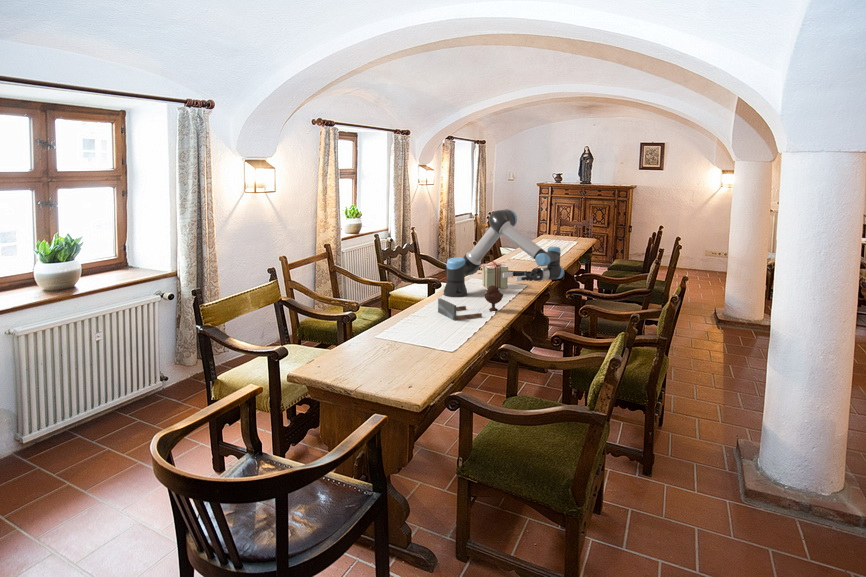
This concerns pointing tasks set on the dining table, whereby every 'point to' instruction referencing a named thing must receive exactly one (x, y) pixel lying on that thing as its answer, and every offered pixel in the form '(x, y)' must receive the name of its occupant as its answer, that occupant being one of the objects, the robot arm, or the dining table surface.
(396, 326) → the dining table surface
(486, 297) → the ice cream bowl
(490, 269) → the gift box
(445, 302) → the frame
